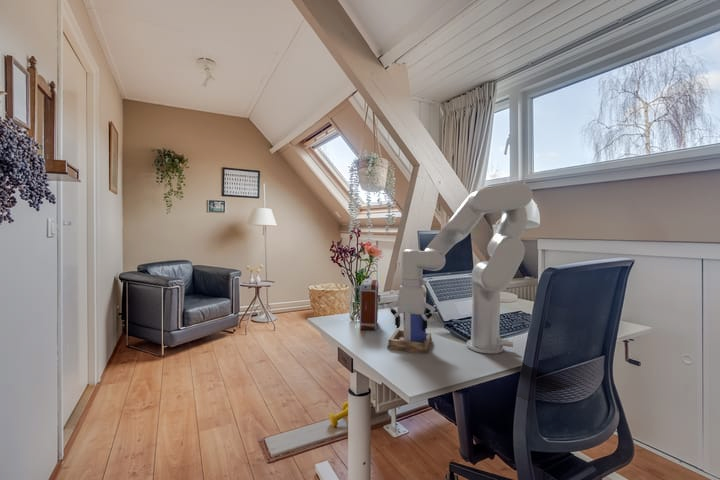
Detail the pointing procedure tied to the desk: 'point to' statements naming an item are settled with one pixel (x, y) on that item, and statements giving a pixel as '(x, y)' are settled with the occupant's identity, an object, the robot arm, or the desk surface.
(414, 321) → the walkman
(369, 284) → the cine camera
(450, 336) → the desk surface
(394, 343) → the wooden tray
